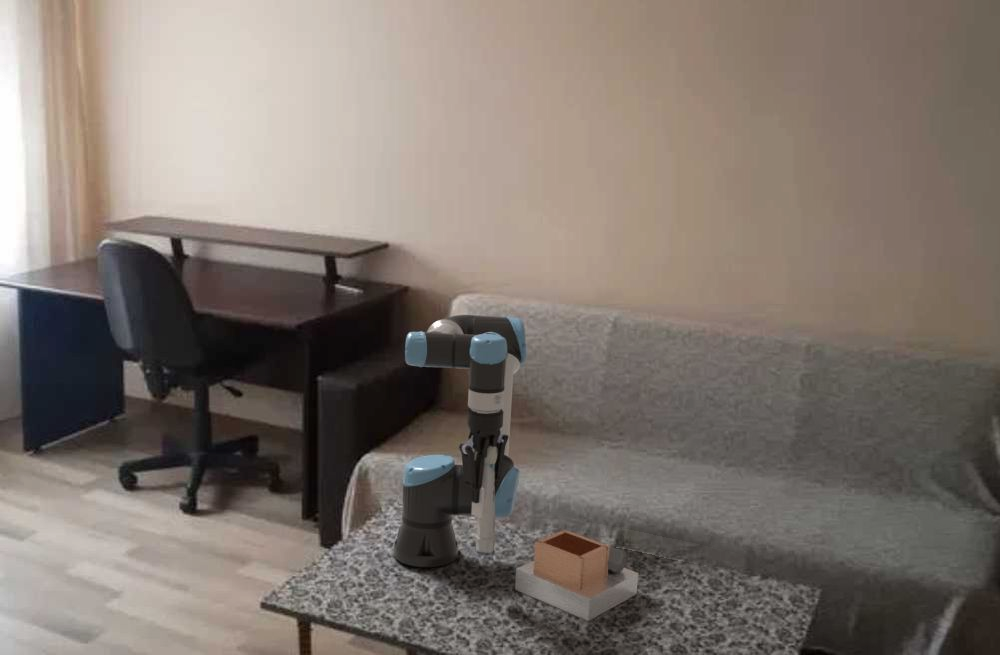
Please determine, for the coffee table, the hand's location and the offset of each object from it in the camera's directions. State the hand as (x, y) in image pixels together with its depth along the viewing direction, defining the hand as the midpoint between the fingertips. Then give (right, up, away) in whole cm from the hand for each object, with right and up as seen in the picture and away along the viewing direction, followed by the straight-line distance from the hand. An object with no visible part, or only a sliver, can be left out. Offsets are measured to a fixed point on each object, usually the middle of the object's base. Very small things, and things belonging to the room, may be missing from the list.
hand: (481, 514), depth 220 cm
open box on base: (+21, -18, +7) cm, 29 cm away
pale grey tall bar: (0, -8, +2) cm, 9 cm away
